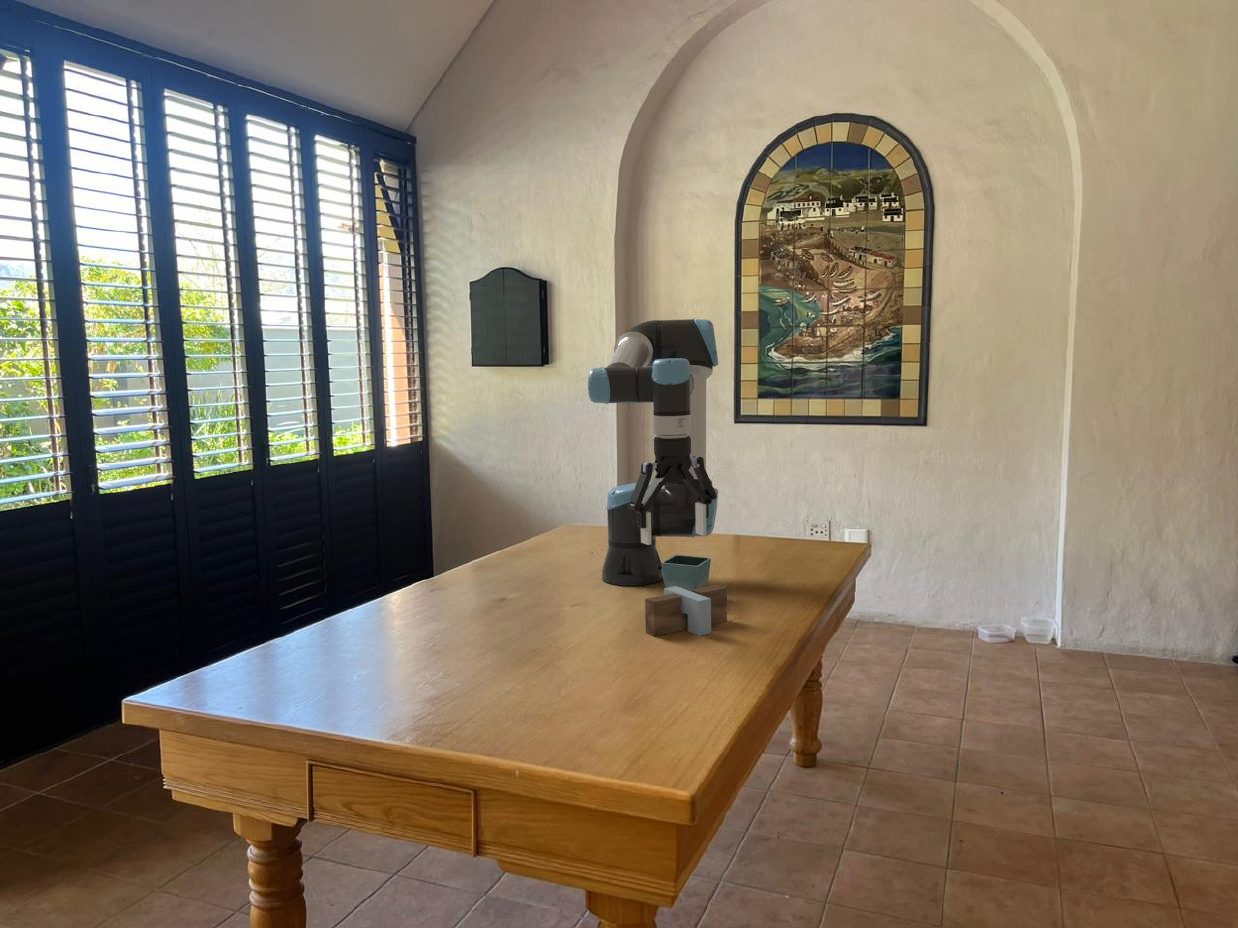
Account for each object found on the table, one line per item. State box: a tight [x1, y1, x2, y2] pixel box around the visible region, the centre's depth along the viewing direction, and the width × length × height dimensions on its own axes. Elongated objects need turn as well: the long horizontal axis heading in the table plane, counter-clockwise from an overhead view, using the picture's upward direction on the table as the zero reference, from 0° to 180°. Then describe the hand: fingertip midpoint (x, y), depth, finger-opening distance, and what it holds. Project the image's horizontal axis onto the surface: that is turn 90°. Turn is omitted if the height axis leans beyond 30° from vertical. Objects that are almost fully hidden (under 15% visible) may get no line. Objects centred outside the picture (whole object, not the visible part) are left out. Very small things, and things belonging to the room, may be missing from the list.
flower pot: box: [661, 554, 712, 592], centre depth 210 cm, size 9×9×9 cm
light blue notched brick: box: [663, 586, 712, 637], centre depth 189 cm, size 12×3×7 cm, turn 31°
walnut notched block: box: [644, 584, 728, 637], centre depth 190 cm, size 3×18×7 cm, turn 121°
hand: (674, 539), depth 192 cm, fingers open, 13 cm apart
